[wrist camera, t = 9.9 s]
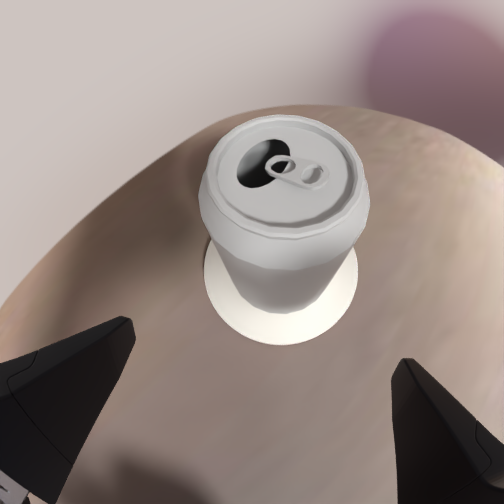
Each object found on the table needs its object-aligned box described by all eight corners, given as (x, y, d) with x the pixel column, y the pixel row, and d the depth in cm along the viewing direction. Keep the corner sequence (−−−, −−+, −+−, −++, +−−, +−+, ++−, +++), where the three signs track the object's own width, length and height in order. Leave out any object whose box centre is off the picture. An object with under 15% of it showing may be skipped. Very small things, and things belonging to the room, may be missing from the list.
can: (264, 208, 23) (254, 87, 12) (345, 250, 21) (400, 144, 10) (212, 283, 21) (149, 193, 10) (299, 335, 19) (334, 296, 8)
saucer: (377, 251, 22) (381, 246, 21) (300, 375, 19) (302, 376, 18) (263, 183, 25) (263, 176, 24) (177, 285, 22) (173, 282, 21)
